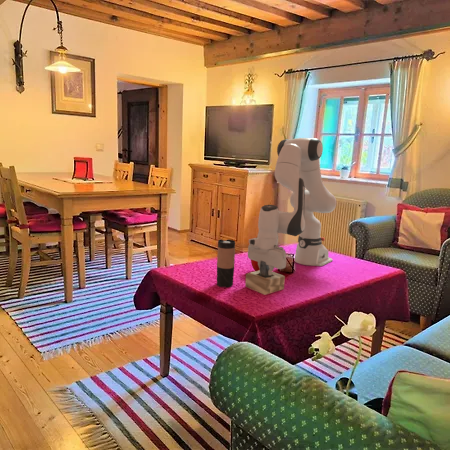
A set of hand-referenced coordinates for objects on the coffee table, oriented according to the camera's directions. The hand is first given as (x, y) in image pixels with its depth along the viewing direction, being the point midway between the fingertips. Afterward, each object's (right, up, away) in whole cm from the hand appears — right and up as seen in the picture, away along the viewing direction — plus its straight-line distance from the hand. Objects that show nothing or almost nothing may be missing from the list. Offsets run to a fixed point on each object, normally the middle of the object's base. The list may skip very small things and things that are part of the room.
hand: (265, 273), depth 176 cm
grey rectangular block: (0, -4, +1) cm, 4 cm away
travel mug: (-18, -6, +3) cm, 19 cm away
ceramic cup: (0, -3, +21) cm, 21 cm away
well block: (0, -6, +1) cm, 7 cm away
